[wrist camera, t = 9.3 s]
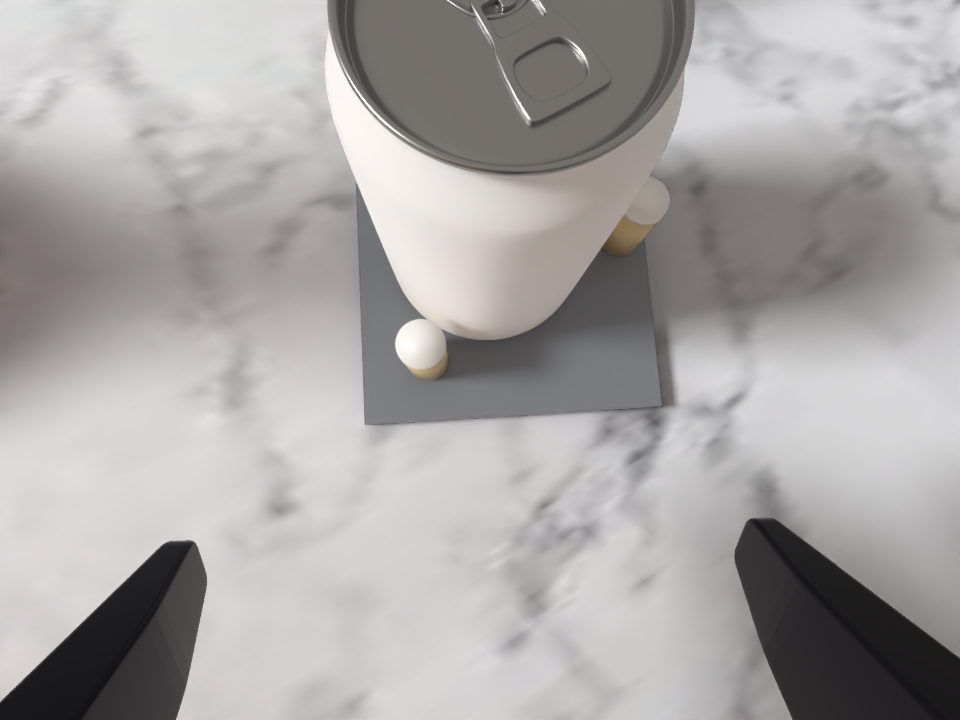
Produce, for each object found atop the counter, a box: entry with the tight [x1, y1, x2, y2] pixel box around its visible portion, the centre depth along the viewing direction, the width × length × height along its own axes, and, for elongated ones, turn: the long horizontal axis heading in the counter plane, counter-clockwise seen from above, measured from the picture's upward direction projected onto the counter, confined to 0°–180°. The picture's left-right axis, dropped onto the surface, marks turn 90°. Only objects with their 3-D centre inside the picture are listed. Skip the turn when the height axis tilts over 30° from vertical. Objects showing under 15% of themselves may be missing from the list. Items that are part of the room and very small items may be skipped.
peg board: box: [356, 176, 670, 425], centre depth 20 cm, size 12×10×4 cm
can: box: [325, 0, 695, 340], centre depth 15 cm, size 6×6×12 cm
